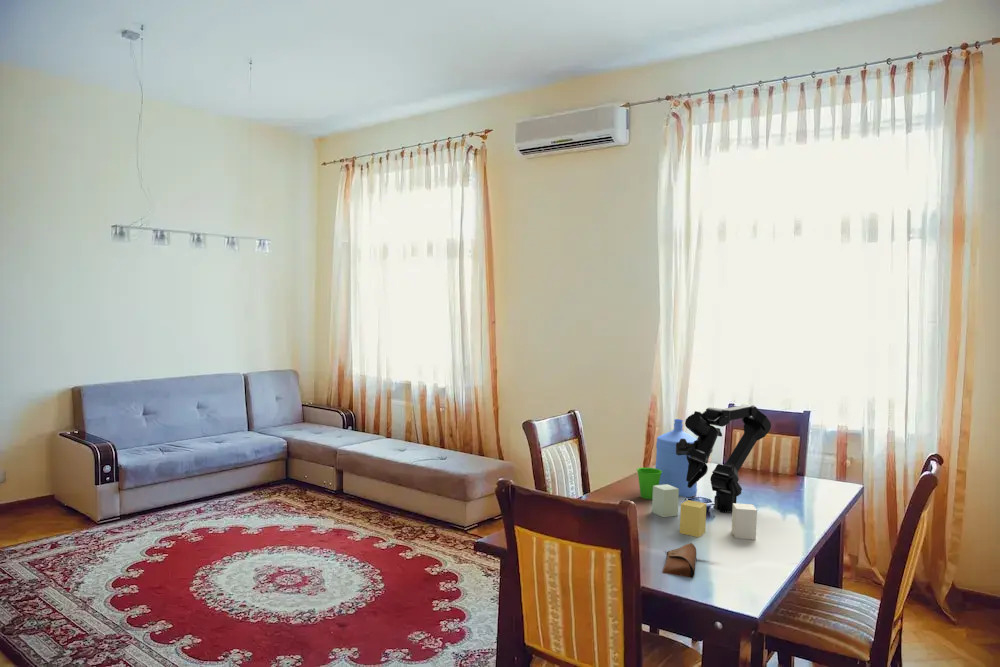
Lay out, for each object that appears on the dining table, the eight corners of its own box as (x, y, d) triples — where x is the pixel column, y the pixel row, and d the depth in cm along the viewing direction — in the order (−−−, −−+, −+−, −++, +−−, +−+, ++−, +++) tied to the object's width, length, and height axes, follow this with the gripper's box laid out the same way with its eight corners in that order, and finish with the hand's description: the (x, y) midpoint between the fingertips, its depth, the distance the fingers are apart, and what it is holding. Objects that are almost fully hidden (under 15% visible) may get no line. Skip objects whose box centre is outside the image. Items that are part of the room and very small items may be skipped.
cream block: (731, 531, 214) (732, 503, 213) (751, 533, 213) (752, 504, 212) (735, 538, 208) (736, 508, 207) (755, 539, 207) (757, 510, 207)
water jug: (689, 501, 251) (693, 425, 250) (648, 493, 259) (651, 420, 258) (701, 492, 264) (705, 419, 263) (662, 485, 273) (665, 415, 271)
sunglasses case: (665, 550, 198) (678, 532, 197) (686, 565, 197) (699, 547, 196) (661, 573, 181) (675, 553, 180) (684, 590, 180) (699, 570, 178)
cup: (661, 504, 245) (662, 474, 245) (635, 502, 247) (636, 472, 246) (660, 498, 254) (661, 468, 253) (635, 495, 256) (636, 466, 255)
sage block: (666, 510, 234) (667, 484, 234) (677, 515, 229) (678, 488, 228) (651, 512, 232) (653, 485, 231) (663, 517, 226) (664, 490, 226)
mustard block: (686, 528, 216) (687, 499, 215) (705, 532, 212) (706, 503, 212) (679, 533, 211) (680, 504, 210) (698, 537, 207) (700, 507, 207)
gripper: (683, 441, 244) (667, 481, 240) (681, 425, 228) (663, 468, 224) (714, 453, 239) (698, 494, 235) (714, 438, 223) (696, 481, 219)
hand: (688, 484), depth 228 cm, fingers open, 9 cm apart
